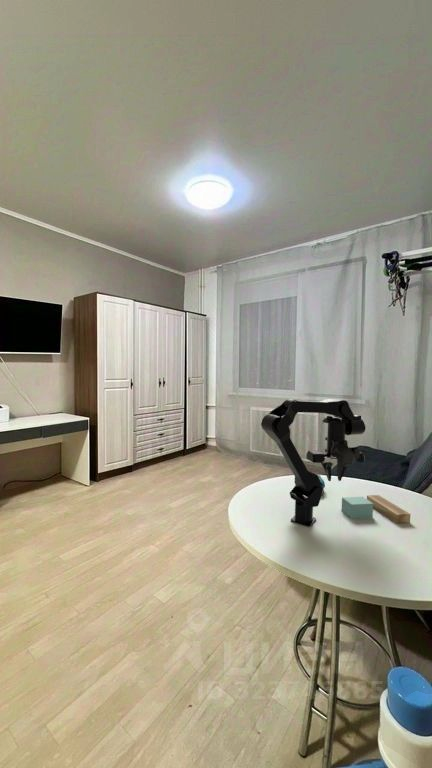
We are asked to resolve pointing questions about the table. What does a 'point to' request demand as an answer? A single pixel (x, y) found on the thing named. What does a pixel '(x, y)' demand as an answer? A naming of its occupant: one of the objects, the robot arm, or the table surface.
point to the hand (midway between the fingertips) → (334, 480)
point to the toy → (321, 481)
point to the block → (357, 507)
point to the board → (389, 509)
